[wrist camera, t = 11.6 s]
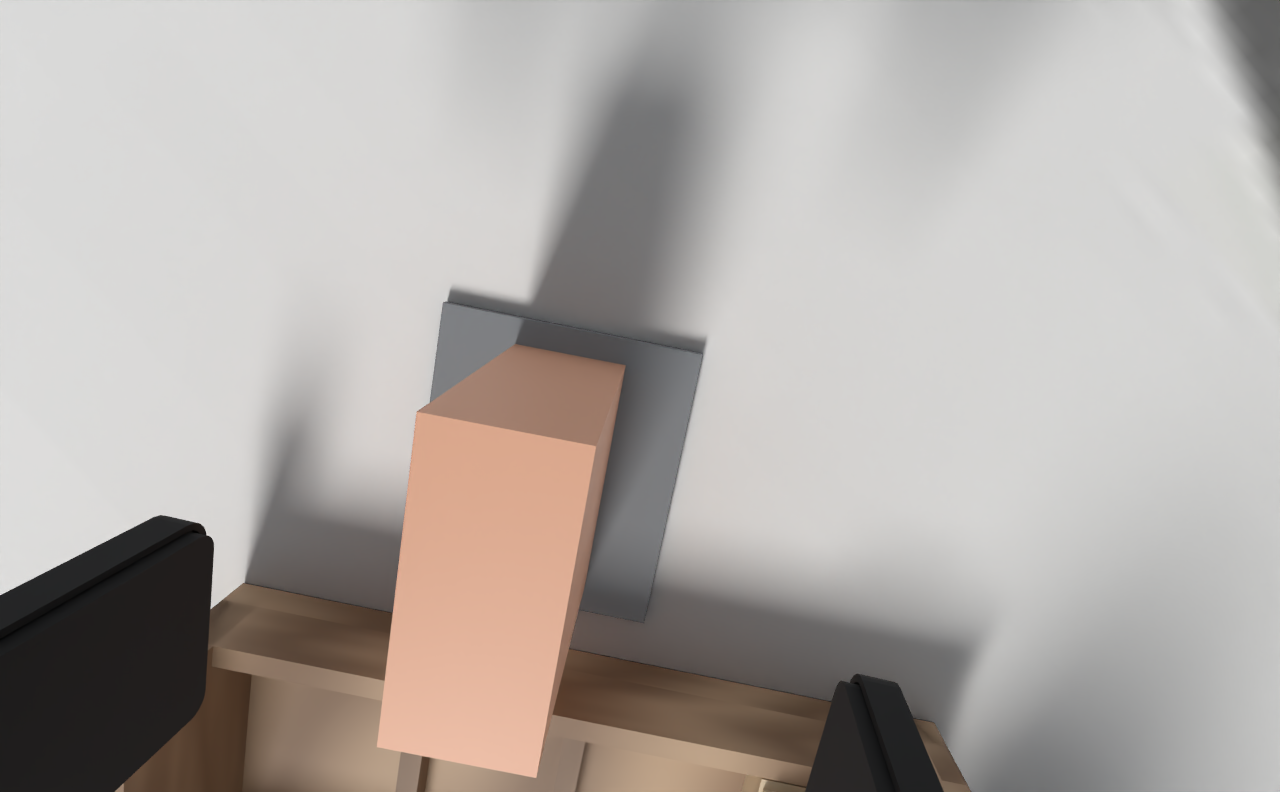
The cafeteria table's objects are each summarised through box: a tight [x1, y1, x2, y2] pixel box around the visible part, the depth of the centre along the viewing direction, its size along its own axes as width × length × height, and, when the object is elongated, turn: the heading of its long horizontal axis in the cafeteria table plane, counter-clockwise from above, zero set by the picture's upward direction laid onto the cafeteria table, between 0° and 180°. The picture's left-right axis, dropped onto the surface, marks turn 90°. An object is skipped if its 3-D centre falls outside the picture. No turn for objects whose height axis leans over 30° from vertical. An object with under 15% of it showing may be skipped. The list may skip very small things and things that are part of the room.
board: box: [377, 344, 626, 778], centre depth 16 cm, size 3×6×8 cm, turn 169°
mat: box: [430, 302, 703, 623], centre depth 20 cm, size 7×8×1 cm
